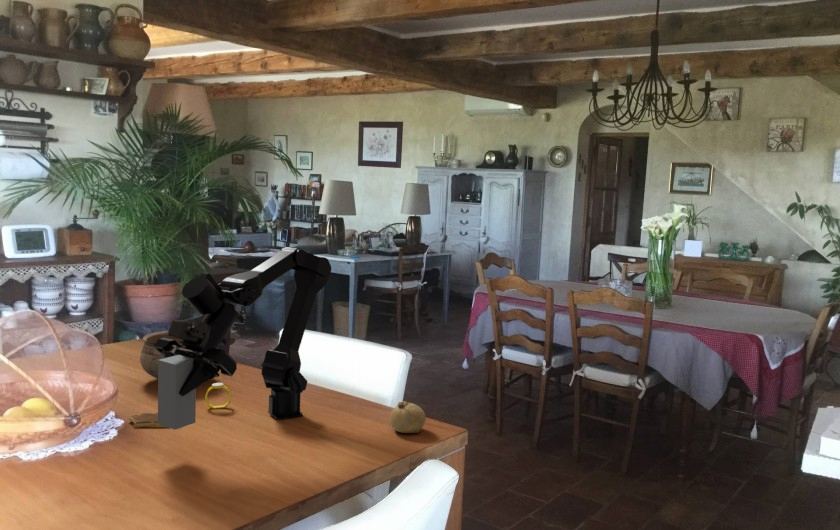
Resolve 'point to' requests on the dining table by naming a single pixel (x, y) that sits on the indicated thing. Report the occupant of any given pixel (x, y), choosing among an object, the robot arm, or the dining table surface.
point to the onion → (407, 418)
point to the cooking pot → (153, 352)
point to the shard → (145, 420)
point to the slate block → (175, 392)
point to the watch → (216, 386)
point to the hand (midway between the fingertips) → (171, 392)
